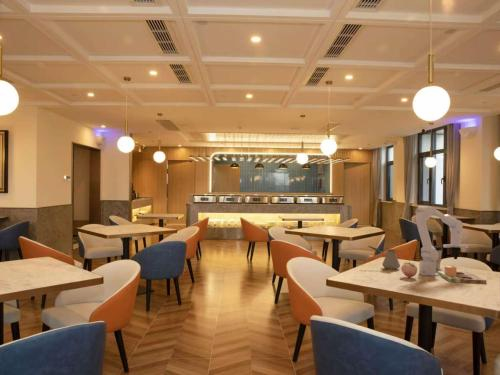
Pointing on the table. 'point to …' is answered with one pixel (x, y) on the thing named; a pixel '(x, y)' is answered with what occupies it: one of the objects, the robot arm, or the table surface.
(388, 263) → the coffee pot
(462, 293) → the table surface
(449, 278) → the trap board
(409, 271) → the decorative fruit
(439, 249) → the coffee cup
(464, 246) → the robot arm
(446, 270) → the block
